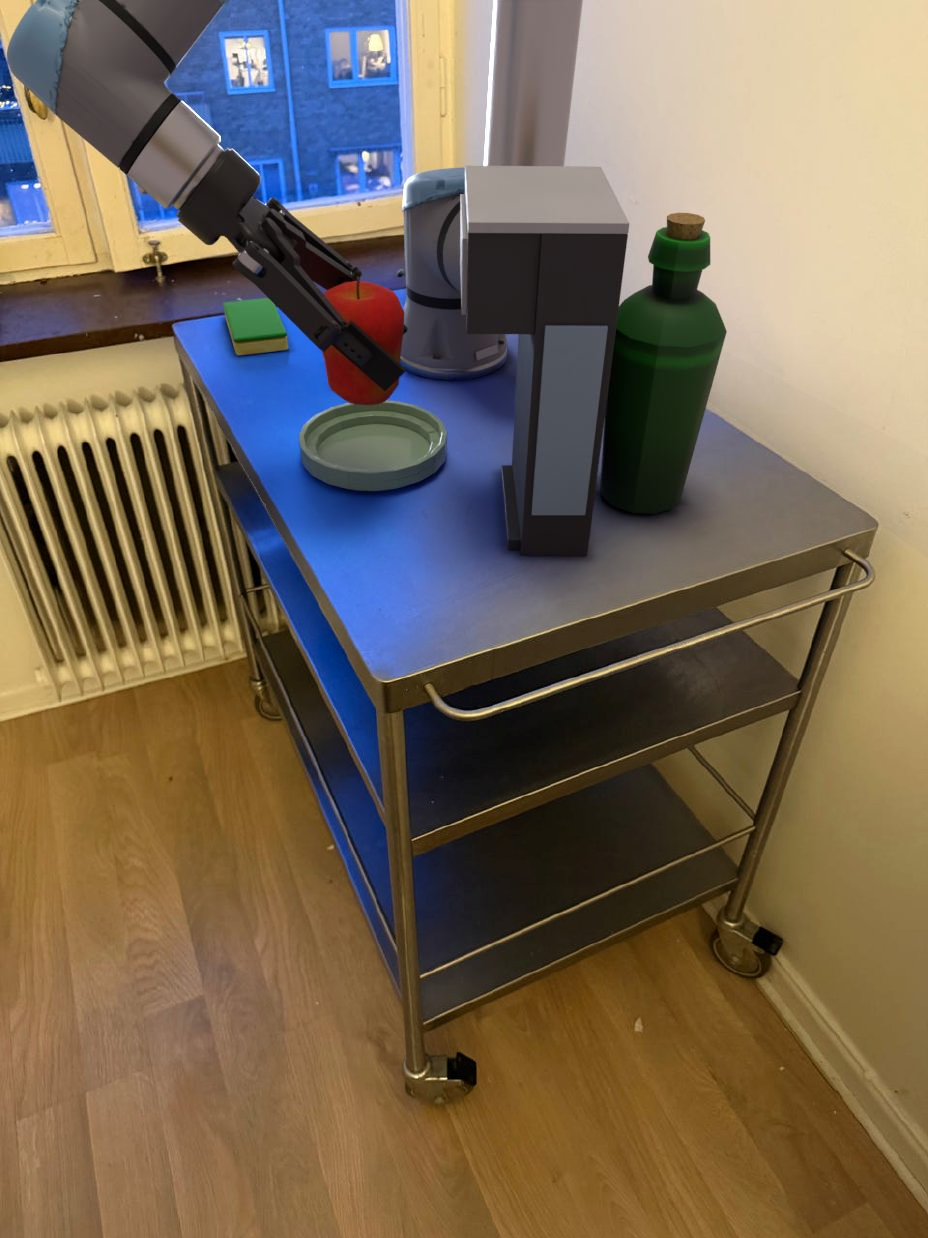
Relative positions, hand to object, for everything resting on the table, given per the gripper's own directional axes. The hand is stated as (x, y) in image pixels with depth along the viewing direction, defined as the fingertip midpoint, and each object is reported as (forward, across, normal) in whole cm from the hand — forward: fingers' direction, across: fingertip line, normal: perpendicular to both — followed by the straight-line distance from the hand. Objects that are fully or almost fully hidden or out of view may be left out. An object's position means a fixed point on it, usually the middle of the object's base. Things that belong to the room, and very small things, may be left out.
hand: (396, 358), depth 85 cm
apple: (+1, 0, -5) cm, 5 cm away
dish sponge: (-5, -40, -26) cm, 48 cm away
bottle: (+28, +2, +7) cm, 29 cm away
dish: (+8, -6, -13) cm, 16 cm away
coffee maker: (+19, +5, -2) cm, 20 cm away
